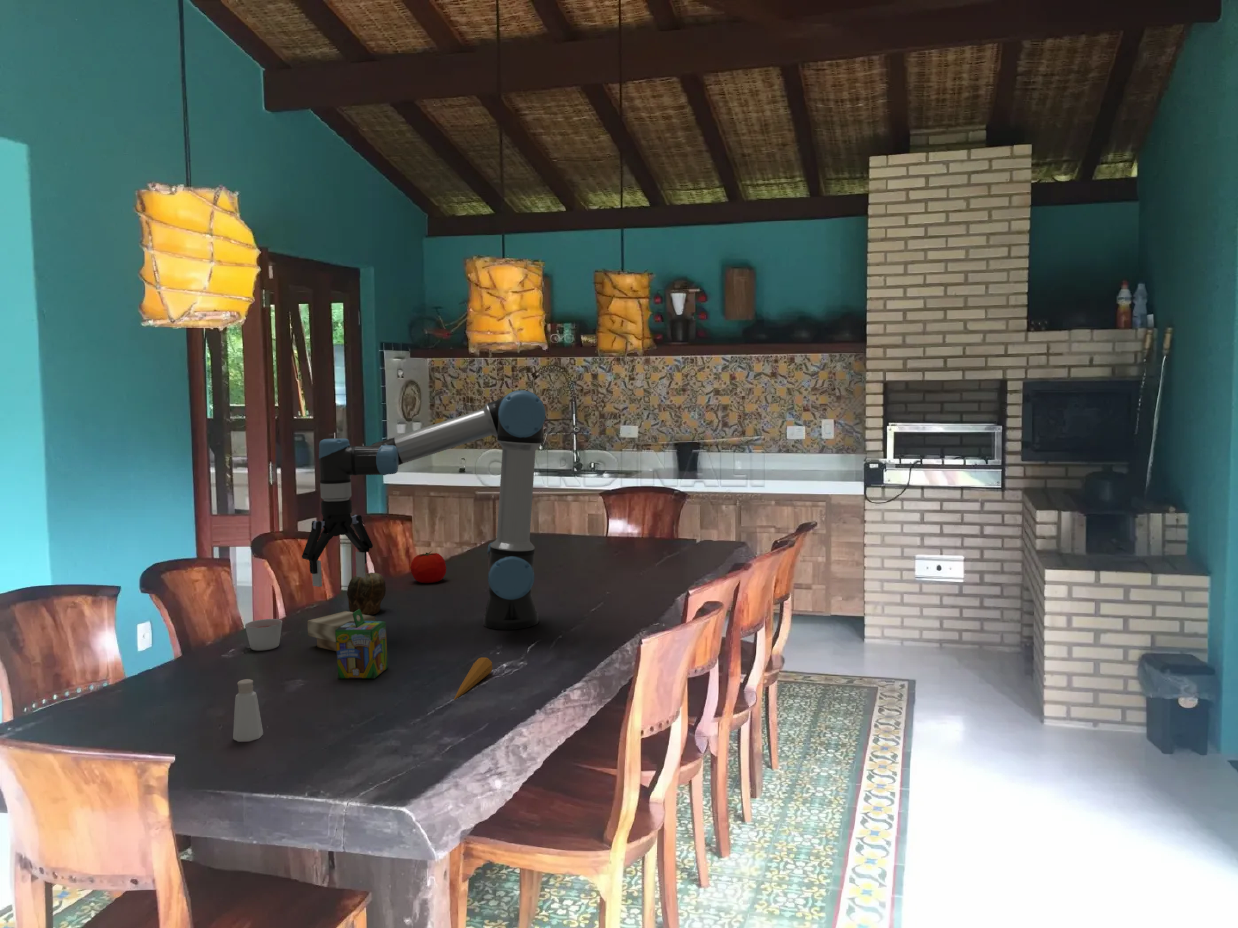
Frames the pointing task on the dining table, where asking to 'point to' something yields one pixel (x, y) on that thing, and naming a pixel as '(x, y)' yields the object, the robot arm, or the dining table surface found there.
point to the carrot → (475, 675)
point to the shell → (366, 593)
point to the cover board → (332, 624)
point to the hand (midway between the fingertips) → (339, 581)
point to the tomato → (428, 567)
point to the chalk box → (361, 648)
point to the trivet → (326, 644)
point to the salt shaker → (246, 713)
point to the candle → (264, 634)
